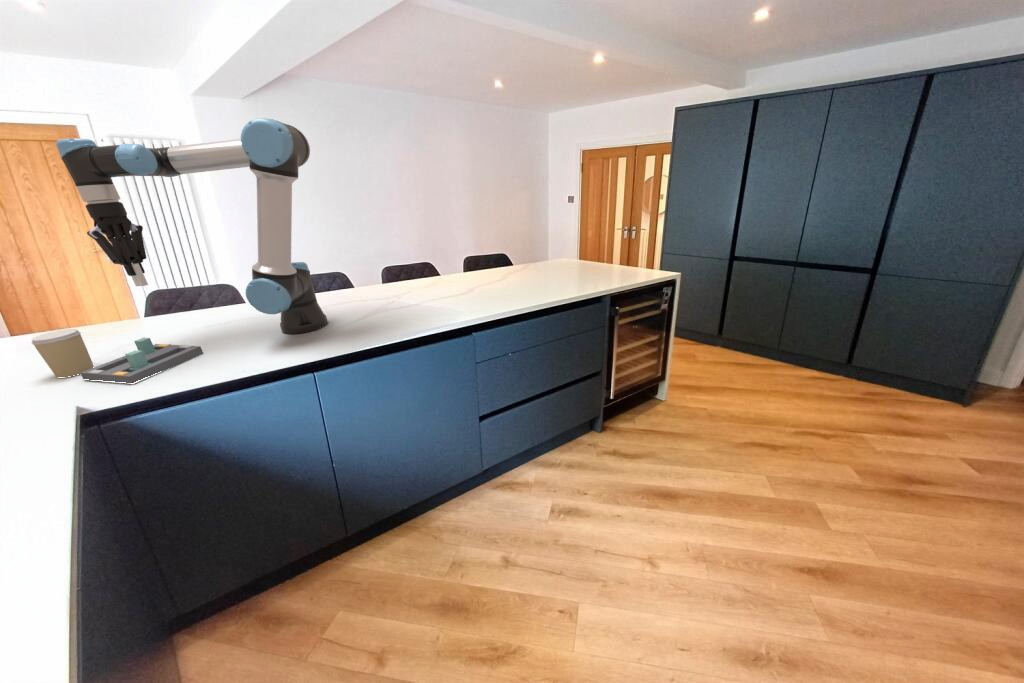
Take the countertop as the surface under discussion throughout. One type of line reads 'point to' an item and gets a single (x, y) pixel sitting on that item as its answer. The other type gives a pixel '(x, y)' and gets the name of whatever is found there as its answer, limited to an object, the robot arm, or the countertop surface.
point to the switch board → (159, 359)
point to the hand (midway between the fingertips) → (142, 285)
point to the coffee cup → (64, 352)
